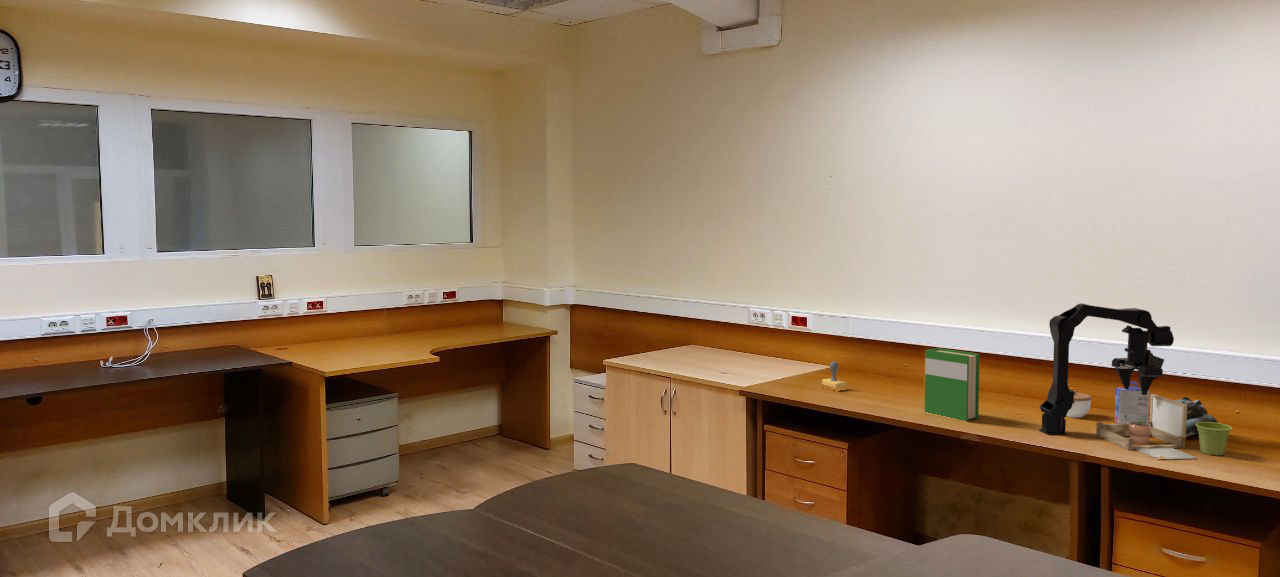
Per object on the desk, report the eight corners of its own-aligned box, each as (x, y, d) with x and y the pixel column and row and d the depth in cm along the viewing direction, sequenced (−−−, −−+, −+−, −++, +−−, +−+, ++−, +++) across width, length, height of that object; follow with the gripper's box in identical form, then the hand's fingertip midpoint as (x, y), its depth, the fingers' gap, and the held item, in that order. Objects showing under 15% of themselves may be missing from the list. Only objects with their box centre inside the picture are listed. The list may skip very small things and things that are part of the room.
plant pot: (1238, 455, 266) (1239, 427, 265) (1216, 458, 262) (1218, 430, 261) (1208, 447, 274) (1209, 420, 274) (1187, 451, 271) (1188, 423, 270)
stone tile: (1158, 460, 262) (1158, 458, 262) (1135, 450, 273) (1135, 449, 273) (1196, 459, 262) (1196, 457, 262) (1172, 449, 273) (1172, 447, 273)
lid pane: (1182, 438, 274) (1184, 405, 273) (1149, 425, 290) (1150, 394, 289) (1185, 438, 274) (1187, 405, 273) (1152, 425, 290) (1153, 394, 289)
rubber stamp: (821, 387, 375) (821, 360, 374) (832, 386, 378) (832, 359, 377) (835, 391, 366) (836, 363, 365) (846, 390, 369) (847, 362, 368)
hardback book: (978, 419, 316) (979, 353, 314) (966, 422, 312) (967, 356, 309) (936, 410, 330) (937, 347, 328) (924, 413, 326) (925, 350, 324)
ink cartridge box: (1143, 421, 309) (1145, 381, 307) (1149, 425, 303) (1151, 384, 302) (1113, 420, 311) (1114, 380, 309) (1118, 424, 305) (1120, 383, 304)
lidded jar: (1089, 413, 321) (1090, 388, 320) (1091, 420, 311) (1092, 394, 310) (1057, 411, 325) (1058, 386, 324) (1058, 417, 316) (1058, 392, 315)
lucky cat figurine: (1175, 439, 284) (1158, 399, 289) (1167, 445, 294) (1151, 406, 300) (1225, 428, 280) (1207, 387, 285) (1215, 434, 291) (1198, 395, 296)
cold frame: (1128, 450, 273) (1128, 435, 272) (1096, 435, 290) (1096, 422, 290) (1184, 448, 274) (1185, 434, 273) (1149, 434, 291) (1150, 420, 291)
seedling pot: (1135, 445, 279) (1136, 420, 278) (1124, 439, 285) (1124, 415, 284) (1154, 444, 279) (1155, 419, 278) (1142, 439, 285) (1143, 415, 284)
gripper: (1179, 350, 283) (1177, 397, 284) (1142, 341, 301) (1140, 385, 303) (1146, 350, 282) (1144, 398, 283) (1111, 342, 300) (1109, 386, 302)
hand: (1135, 391), depth 293 cm, fingers open, 9 cm apart
